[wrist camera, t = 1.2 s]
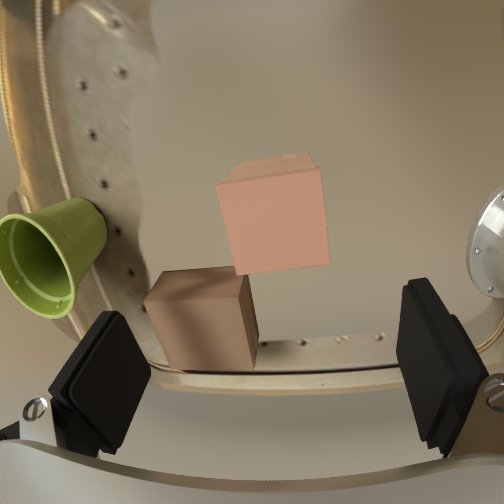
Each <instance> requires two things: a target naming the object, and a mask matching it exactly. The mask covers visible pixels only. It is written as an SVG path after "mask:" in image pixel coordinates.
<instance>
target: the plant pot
mask: <svg viewBox="0 0 504 504" xmlns="http://www.w3.org/2000/svg"><path fill="white" fill-rule="evenodd" d="M106 241H107V227H106V223H105V220H104V218H103V216H102V215H101V214H100V213H99V212H98V211H97V210H96V209H95V207H94V206H93V204H92V203H91V202H89V201H88V200H85V199H83V198H71V199H69V200H66V201H63V202H60V203H58V204H55V205H52V206H50V207H47V208H44V209H42V210H39V211H36V212H34V213H26V214H19V213H15V214H10V215H8V216H6V217H4V218H3V219H1V220H0V274H1V276H2V278H3V280H4V282H5V284H6V285H7V287H8V288H9V289H10V291H11V292H12V294H13V295H14V296H15V297H16V298H17V299H18V300H19V301H20V302H21V303H22V304H23V305H24V306H25V307H27V308H28V309H30V310H31V311H32V312H34V313H36V314H38V315H40V316H42V317H46V318H50V319H57V318H61V317H64V316H65V315H67V314H68V313H69V312H70V311H71V309H72V308H73V306H74V303H75V300H76V293H77V290H78V288H79V283H80V282H81V280H82V279H83V277H84V276H85V274H86V273H87V271H88V270H89V268H90V267H91V265H92V264H93V262H94V261H95V259H96V258H97V257H98V255H99V254H100V252H101V251H102V249H103V248H104V246H105V244H106Z"/></svg>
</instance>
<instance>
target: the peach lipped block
mask: <svg viewBox="0 0 504 504" xmlns="http://www.w3.org/2000/svg"><path fill="white" fill-rule="evenodd" d="M216 189H217V194H218V198H219V202H220V206H221V211H222V215H223V219H224V223H225V228H226V232H227V236H228V240H229V244H230V248H231V253H232V257H233V261H234V265H235V269H236V273H237V276H238V275H247V274H256V273H264V272H274V271H282V270H290V269H299V268H308V267H315V266H324V265H330V253H329V242H328V232H327V223H326V213H325V204H324V195H323V188H322V180H321V172H320V169H319V167H317V168H315V166H314V163H313V161H312V159H311V157H310V154H309V153H300V154H293V155H286V156H279V157H272V158H266V159H260V160H254V161H248V162H242V163H238V165H237V166H236V167H235V168H234V169H233V171H232V172H231V173H230V175H229V176H228V177H227V179H226V180H225V181H224V182H219V183H218V184H217V185H216Z"/></svg>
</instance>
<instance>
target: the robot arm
mask: <svg viewBox="0 0 504 504" xmlns="http://www.w3.org/2000/svg"><path fill="white" fill-rule="evenodd" d="M466 263H467V268H468V273H469V275H470V278H471V280H472V281H473V283H474V284H475V286H476V287H477V288H478V289H479V290H480V291H481V292H482V293H483V294H485V295H486V296H489V297H493V298H503V297H504V184H503V185H502V186H500V187H499V188H498V189H497V190H495V191H494V192H493V193H492V194H491V195H490V196H489V198H488V199H487V200H486V201H485V203H484V204H483V206H482V207H481V209H480V210H479V212H478V214H477V216H476V218H475V220H474V223H473V225H472V228H471V231H470V235H469V238H468V244H467V250H466ZM396 354H397V359H398V363H399V366H400V369H401V372H402V375H403V378H404V382H405V385H406V388H407V392H408V395H409V399H410V402H411V405H412V409H413V413H414V416H415V420H416V423H417V428H418V432H419V436H420V439H421V441H422V442H424V441H426V442H427V446H428V449H432V448H435V447H439V450H440V453H441V454H443V456H442V458H441V459H438V460H433V461H428V462H424V463H418V464H414V465H409V466H404V467H399V468H394V469H388V470H383V471H377V472H370V473H363V474H356V475H348V476H339V477H330V478H320V479H305V480H281V481H255V480H252V481H251V480H227V479H213V478H202V477H192V476H184V475H176V474H169V473H162V472H156V471H150V470H145V469H140V468H134V467H130V466H124V465H120V464H116V463H112V462H108V461H104V460H100V457H99V454H98V452H99V449H101V451H102V452H104V453H109V454H113V455H115V454H116V451H117V449H118V448H119V447H121V445H122V443H123V441H124V438H125V436H126V433H127V431H128V428H129V426H130V423H131V421H132V419H133V416H134V414H135V411H136V409H137V407H138V404H139V402H140V400H141V397H142V395H143V393H144V390H145V388H146V386H147V383H148V381H149V379H150V376H151V368H150V366H149V364H148V362H147V360H146V358H145V357H144V355H143V353H142V351H141V349H140V347H139V345H138V343H137V341H136V339H135V337H134V335H133V333H132V331H131V329H130V327H129V325H128V323H127V321H126V319H125V317H124V316H123V315H121V314H120V313H119V312H118V311H104V312H102V313H101V314H100V315H99V317H98V318H97V319H96V321H95V322H94V323H93V325H92V326H91V327H90V329H89V330H88V332H87V333H86V334H85V336H84V337H83V339H82V340H81V341H80V343H79V344H78V346H77V347H76V349H75V350H74V352H73V353H72V354H71V356H70V357H69V359H68V360H67V362H66V363H65V365H64V366H63V368H62V369H61V371H60V372H59V374H58V375H57V377H56V378H55V380H54V381H53V383H52V384H51V386H50V387H49V389H48V391H49V393H50V394H51V395H52V396H53V397H52V399H51V400H50V399H49V397H48V396H46V395H44V394H38V395H34V396H32V397H31V398H29V399H28V400H27V401H26V402H25V403H24V404H23V406H22V408H21V410H20V415H19V421H17V422H15V423H13V424H11V425H10V426H7V427H5V428H3V429H1V430H0V504H504V373H496V374H492V375H489V373H488V371H487V369H486V367H485V366H484V364H483V362H482V360H481V358H480V356H479V354H478V353H477V351H476V349H475V347H474V345H473V344H472V342H471V340H470V338H469V337H468V335H467V333H466V331H465V330H464V328H463V326H462V325H461V323H460V321H459V320H458V318H457V317H456V316H455V315H453V314H451V315H450V313H449V312H448V310H447V309H446V307H445V305H444V304H443V302H442V301H441V299H440V297H439V296H438V294H437V293H436V291H435V290H434V288H433V286H432V285H431V283H430V282H429V280H428V279H427V278H418V279H413V280H409V281H408V285H405V286H403V291H402V302H401V314H400V323H399V331H398V339H397V347H396Z"/></svg>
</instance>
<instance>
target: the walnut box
mask: <svg viewBox="0 0 504 504" xmlns="http://www.w3.org/2000/svg"><path fill="white" fill-rule="evenodd" d="M143 303H144V305H145V308H146V310H147V313H148V315H149V318H150V320H151V323H152V325H153V328H154V330H155V333H156V335H157V337H158V340H159V342H160V344H161V347H162V349H163V351H164V354H165V356H166V358H167V360H168V362H169V365H170V367H171V369H180V370H254V367H255V360H256V353H257V346H258V338H259V330H258V325H257V320H256V314H255V309H254V304H253V298H252V293H251V287H250V283H249V277H248V274H247V275H238V276H237V273H236V269H235V266H224V267H211V268H199V269H186V270H174V271H163V272H162V274H161V275H160V277H159V278H158V280H157V281H156V283H155V284H154V286H153V287H152V289H151V290H150V292H149V293H148V295H147V296H146V298H145V300H144V301H143Z"/></svg>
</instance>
